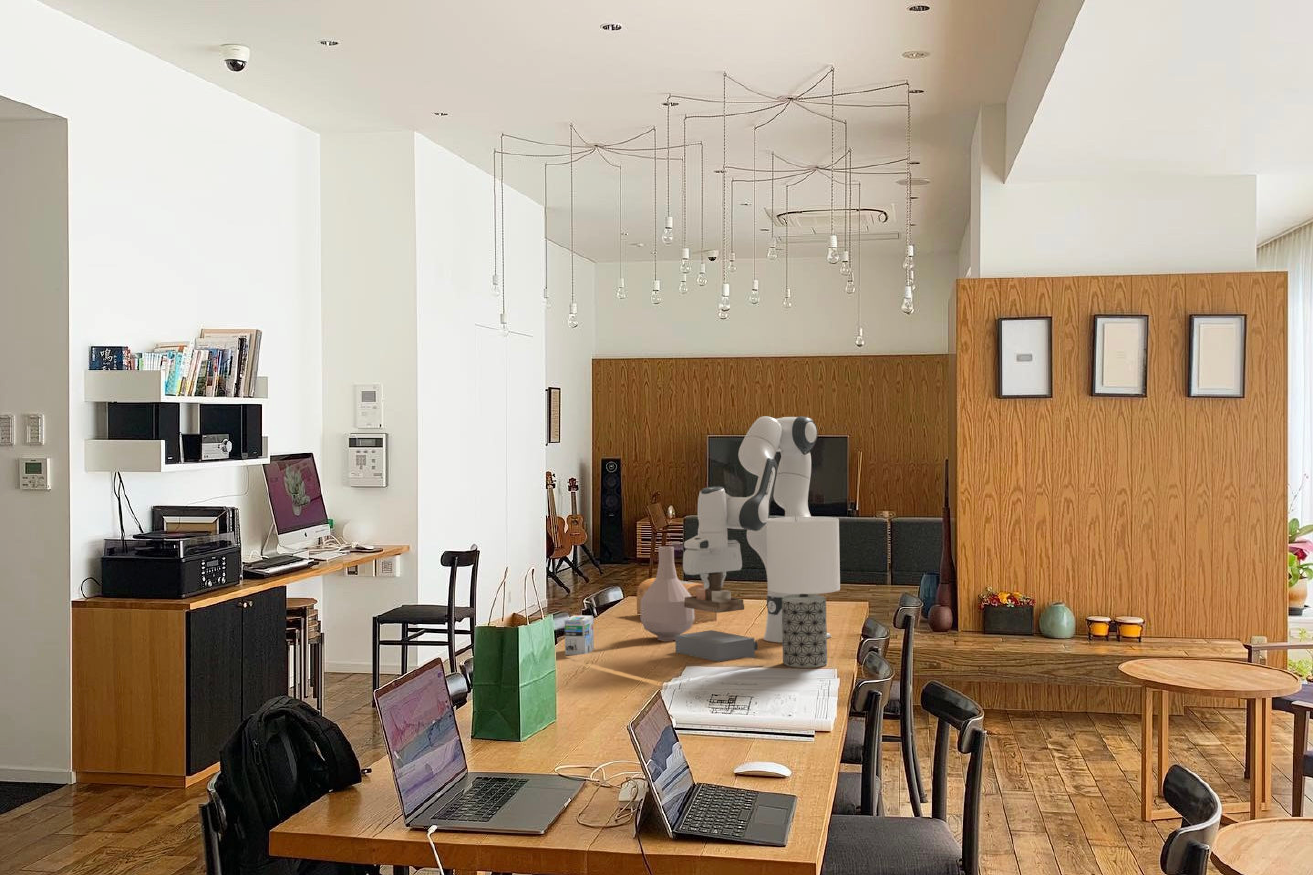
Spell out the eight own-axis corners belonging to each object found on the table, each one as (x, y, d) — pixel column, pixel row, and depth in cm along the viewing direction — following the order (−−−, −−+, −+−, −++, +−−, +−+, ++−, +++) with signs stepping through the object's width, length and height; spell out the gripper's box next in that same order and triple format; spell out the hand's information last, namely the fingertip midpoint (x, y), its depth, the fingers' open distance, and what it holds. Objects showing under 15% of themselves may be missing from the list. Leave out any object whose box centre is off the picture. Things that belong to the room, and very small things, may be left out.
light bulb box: (585, 655, 356) (585, 620, 356) (564, 655, 357) (563, 619, 357) (594, 649, 366) (593, 614, 366) (573, 649, 368) (573, 614, 368)
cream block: (722, 603, 350) (722, 589, 350) (731, 604, 346) (730, 591, 346) (711, 604, 347) (711, 591, 347) (720, 605, 344) (720, 592, 344)
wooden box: (719, 621, 420) (719, 582, 420) (681, 625, 411) (680, 586, 411) (673, 611, 445) (672, 575, 445) (636, 615, 436) (635, 578, 436)
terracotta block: (707, 600, 355) (706, 587, 355) (715, 602, 352) (715, 588, 352) (696, 602, 353) (696, 588, 353) (705, 603, 350) (704, 590, 350)
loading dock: (714, 649, 363) (714, 629, 363) (757, 658, 347) (757, 637, 347) (675, 655, 354) (675, 635, 354) (717, 664, 338) (717, 643, 338)
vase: (673, 645, 370) (671, 550, 370) (629, 640, 380) (628, 548, 380) (705, 637, 384) (703, 546, 384) (662, 633, 394) (660, 544, 394)
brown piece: (710, 604, 359) (709, 569, 359) (744, 609, 346) (743, 573, 346) (684, 607, 353) (683, 572, 353) (717, 612, 340) (717, 576, 340)
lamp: (848, 669, 327) (846, 520, 327) (775, 672, 325) (772, 522, 325) (832, 656, 347) (830, 515, 347) (763, 658, 346) (761, 517, 346)
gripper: (732, 538, 359) (733, 583, 359) (679, 542, 346) (680, 589, 346) (746, 539, 353) (747, 585, 353) (692, 544, 341) (693, 591, 341)
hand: (713, 587), depth 350 cm, fingers closed on brown piece, 3 cm apart
